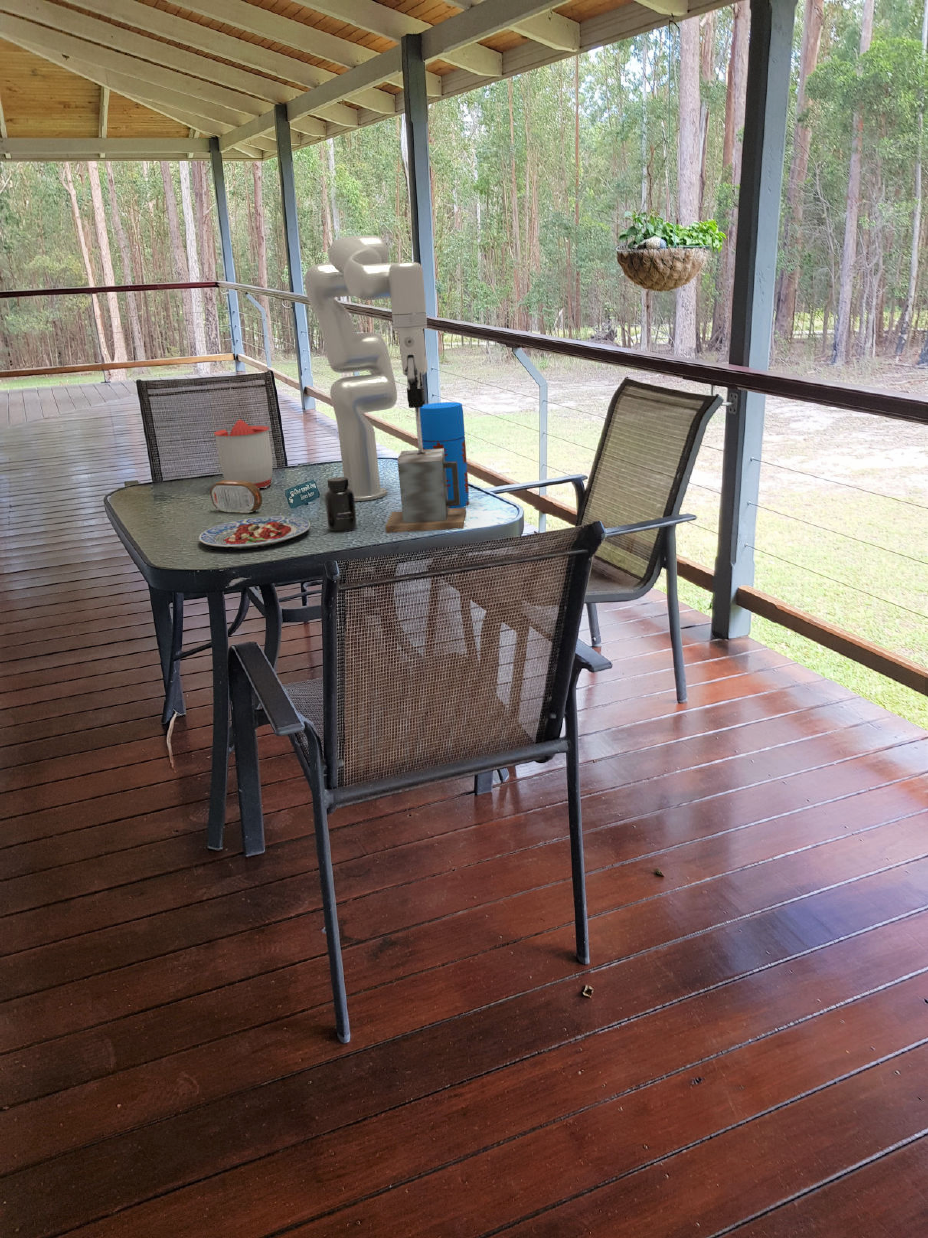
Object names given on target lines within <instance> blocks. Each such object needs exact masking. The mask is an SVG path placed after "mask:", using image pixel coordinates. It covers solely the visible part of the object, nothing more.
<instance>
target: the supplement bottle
mask: <svg viewBox="0 0 928 1238" xmlns="http://www.w3.org/2000/svg"><path fill="white" fill-rule="evenodd" d="M348 486H349V483H348V478H345V477H344V476H343V477H341V476H339V477H332V478H331V477H330V478H329V479H327V488H328V489H329V490H327V491H326V492H325V493H324V499H325V502H324V503H325V511H326V518H327V519H326V520H327V528H328V530H329V531H330V532H333V533H344V532H350V531H353V530H356V528H357V526H358V525H357V524H358V523H357V514H356V501H354V493H353V491H352V490H351V489H349V488H348Z"/></svg>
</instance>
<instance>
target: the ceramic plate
mask: <svg viewBox="0 0 928 1238" xmlns="http://www.w3.org/2000/svg"><path fill="white" fill-rule="evenodd" d="M310 528H311V523H310V521H308V520H306V519H304V518H301V517H295V516H279V515H278V516H277V515H276V516H263V517H251V518H245V519H239V520H234V521H230V522H226V523H222V524H219V525H215V526H212V527H210V528H208V529H206V530H204V531H203V532H201V533H200V534H199V536H198V539H199V542H201V543H202V544H205V545H208V546H213V547H220V548H221V547H225V548H228V547H255V548H257V547H256V546H262V547H265V546H264V545H268V546H270V545H269V544H272V545H276V544H278V542H279V543H282V541H283V542H285V541H287V540H289V539H291V538H295V537H297V536H300V535H302V534H304V533H305V532H307V531H308V530H309V529H310ZM230 531H236V533H233V535H232V536H230V537H227V538H226V539H225V540H223V541H226V544H225V543H218V542H216V540H215V538H217V537H218V536H219V535H220V534H226V533H227V532H230ZM275 543H276V544H275Z"/></svg>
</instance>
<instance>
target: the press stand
mask: <svg viewBox="0 0 928 1238" xmlns="http://www.w3.org/2000/svg"><path fill="white" fill-rule="evenodd" d="M396 459H397V460H396V461H397V469H398V470H397V471H398V481H399V483H398V484H399V489H400V490H399V492H400V502H401V510H399V511H392V512H391V513H390V515H389V518H388V520H387V522H386V525H385V527H384V528H385V534H386V533H387V534H389V532H390V533H403V532H402V531H408V532H422V531H439V530H453V529H452V528H461V529H464V527H465V523H464V521H465V522H466V516H467V509H466V508H467V507H463V508H450V509H449V506H459V505H460V496H459V482H458V469H457V461H456V462H452V461H451V462H445V455H444V448H443V449H427V450H423V454H420V455H419V449H416V450H414V449H413V450H412V449H411V450H401V452H400V454H399V455H398V456H397V458H396ZM446 468H452V479H453V492H454V499H453V500H448V494H447V481H446Z"/></svg>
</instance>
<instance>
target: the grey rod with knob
mask: <svg viewBox="0 0 928 1238" xmlns="http://www.w3.org/2000/svg"><path fill="white" fill-rule="evenodd" d="M420 389H422V398H423V401H425V402H426V393H425V391H426V390H425V386H424V387H422V386H420ZM407 390H408V387H406V395H407V396H406V397H407V399H408V392H407ZM414 411H415V412H414V413H415V422H416V423H415V424H416V435H417V447H418V449H417V450H419V455H420V454H423V445H422V433H421V421H420V409H419V407H418V408H414Z"/></svg>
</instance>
